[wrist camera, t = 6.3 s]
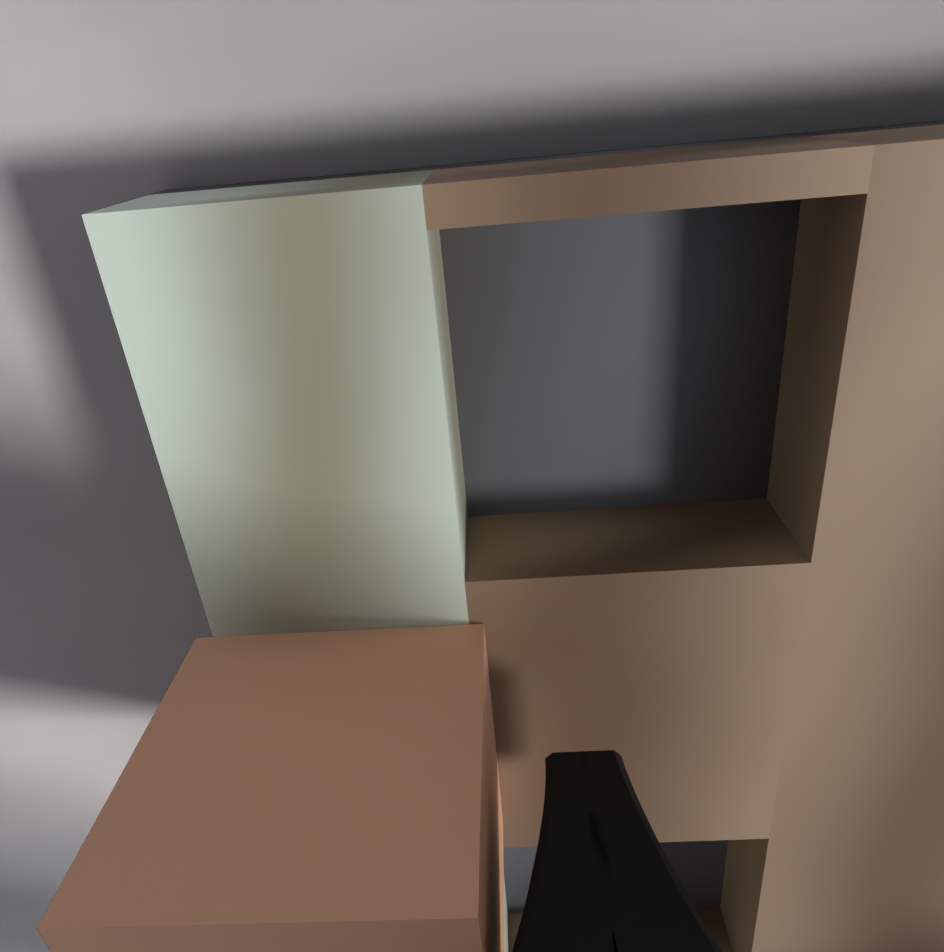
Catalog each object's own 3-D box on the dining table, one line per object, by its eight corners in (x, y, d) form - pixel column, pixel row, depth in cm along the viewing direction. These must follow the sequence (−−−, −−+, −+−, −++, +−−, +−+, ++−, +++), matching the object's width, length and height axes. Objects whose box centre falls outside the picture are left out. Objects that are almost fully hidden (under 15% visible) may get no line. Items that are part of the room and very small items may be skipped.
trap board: (1325, 86, 10) (1568, 85, 8) (1008, 886, 18) (1083, 1000, 15) (165, 190, 11) (81, 214, 9) (349, 906, 19) (331, 1016, 16)
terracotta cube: (483, 623, 11) (478, 918, 7) (503, 821, 13) (507, 1137, 9) (196, 637, 11) (36, 928, 7) (258, 829, 14) (160, 1138, 10)
